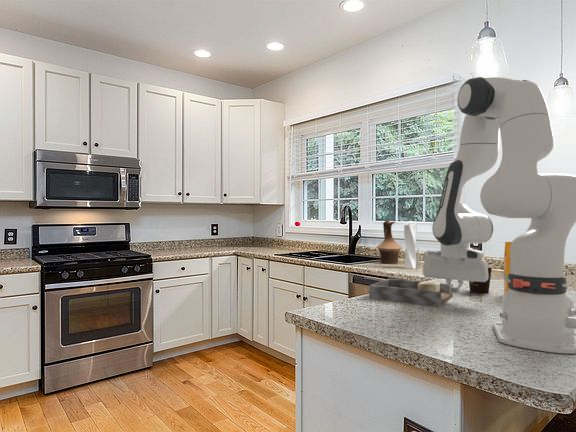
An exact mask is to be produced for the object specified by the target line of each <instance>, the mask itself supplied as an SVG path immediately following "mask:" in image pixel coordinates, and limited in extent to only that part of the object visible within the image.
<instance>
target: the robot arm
mask: <svg viewBox="0 0 576 432" xmlns="http://www.w3.org/2000/svg"><path fill="white" fill-rule="evenodd" d="M457 106H458V110H460V112H461V113H462V114H465V116H464V119H463V122H462V126H461V130H460V131H461V132H460V136H459V147H458V152H457V155H456V158H455V160H454V161H453V162H451V163H450V165H449V166H448V167H447V170H446V174H445V178H444V181H443V185H442V191H441V194H440V195H441V196H440V200H439V205H438V209H437V212H436V215H435V218H434V220H433V223H432V229H431V230H432V234H433V236H434V238H435V240H437V242H439V243H440V250H427V251H425V252H423V254H422V261H423V269H422V270H423V271H422V275H423V276H424V277H425V278H430V279H431V278H432V279H440V280H441V279H443V280H445V282H446V283H445V284H447V285H448V286H449V287H450V293H453V294H458V295H459V294H461V293H460V292H461V291H460V290H461V287H462V285H463V284H464V281H467V282H469V281H477V282H486V281H487V280H488V267H487V266H488V263H487V261H486V260H485V259H484V257H485V252H484V251H482V250H480V249H476V248H473V247H470V245H472V244H474V245H475V244H483V243H486V242H488V241H490V239H491V238H492V235H493V233H494V225H493V221H492V219H491V218H490V217H489V216H488V215H486V214H484V213H483V214H482V213H480V212H476V211H474V210H473V209H471V208H469V206H468V205H467V204H465V203H462V202H461V203H460V201H461V196H462V192H463V188H464V187H465V184H467V182H468V181H470V180H471V179H473V178H475V177H478V176H480V175H483V174H486V172H489V171H490V170H491V169H492V168H493V167H494V166H495V165H496V163H497V161H498V157H499V150H500V140H501V153H502V155H501V161H500V164H499V167H498V168H497V170H496V171H495V173H493V175H491V176H490V177H489V178H488V179H486V180H485V182H484V183H483V185H482V187H481V189H480V195H479V197H480V203H481V205H482V207H483V209H484V210H485V212H486V213H487V214H489V215H493V216H497V217H502V218H507V219H530V224H529V226H528V228H527V229H526V231H525V232H523V233H522V234H520V235H518V236H516V237H514V239H513V240H512V241H511V242H512V243H511V245H510V273H509V274H508V288H509V290H508V291H507V292H506V293H503V294H502V296H501V312H500V313H499V317H500V318H501V321H494V322H492V329H493V332H494V333H495V337H496V338H497V340H498V342H500V343H502V344H505V345H508V346H514V347H518V348H523V349H527V350H535V351H542V352H546V353H547V352H548V353H554V354H555V353H556V354H572V355H573V354H576V331H575V330H576V317H575V316H576V309H575V302H574V301H573V300H572V299H570V297H568V296H567V294H566V293H567V287H568V283H567V277H566V276H565V273H564V272H565V249H566V243H567V239H568V237H569V234H570V232H571V230H572V228H573V226H574V225H576V175H573V174H570V173H569V174H568V173H539V171H538V162H540V161H542V160H543V159H545V158H546V157H547V156H549V155H550V153H551V152H552V151H553V149H554V147H555V138H554V133H553V128H552V121H551V118H550V112H549V108H548V104H547V101H546V98H545V96H544V94H543V92H542V90H541V87H540V85H539V84H538V83H535V81H534V82H533V81H531V80H527V79H522V80H521V79H515V78H506V77H492V76H491V77H481V76H478V77H472V78H469V79H467V80H466V81H465V82H464V83H463V84H462V85H461V87H460V88H459V91H458V95H457ZM452 280H455V281H457V283H458V286H456V287H455V286H453V287H452V285H451V284H452Z"/></svg>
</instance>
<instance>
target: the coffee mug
mask: <svg viewBox="0 0 576 432" xmlns="http://www.w3.org/2000/svg"><path fill="white" fill-rule="evenodd" d="M487 267H488V280H487V281H486V282H477V281H468V284H469V291H470V293H473V294H480V295H484V294H485V295H486V294H487V295H488V294H489V293H490V285H491V284H490V283H491V277H492V269H493V268H492V266H491V265H490V266H489V265H487Z"/></svg>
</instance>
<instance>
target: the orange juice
mask: <svg viewBox="0 0 576 432" xmlns="http://www.w3.org/2000/svg"><path fill="white" fill-rule="evenodd" d="M511 243H512V241H505V242H504V254H503V269H504V270H503V279H504V280H503V282H504V283H503V285H504V286H503V287H504V288H503V291H504V293H506V292H507V291H508V290H509V288H508V274H509V273H510V245H511ZM504 293H503V294H504Z"/></svg>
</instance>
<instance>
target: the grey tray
mask: <svg viewBox="0 0 576 432" xmlns="http://www.w3.org/2000/svg"><path fill="white" fill-rule="evenodd" d="M421 282H423V281H421V280H419V281H418V280H407V279H398V278H386V279H384V280H381V281H377V282H376V283H372V284H368V289H369V290H368V294H369V295H368V297H369V299H373V300H374V299H375V300H382V301H389V302H390V301H391V302H397V303H398V302H399V303H405V304H414V305H415V304H416V305H424V306H431V307H438V308H440V307H443V305H445V304H446V303H448V302H449V300H451V299H452V298H454V293H450V287H449V286H448V285H447V283H442V282H439V283H440V292H435V291H426V290H418V284H419V283H421ZM430 282H431V281H430ZM431 283H434V282H431ZM451 285H452V287H454V284H453V283H451Z"/></svg>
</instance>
